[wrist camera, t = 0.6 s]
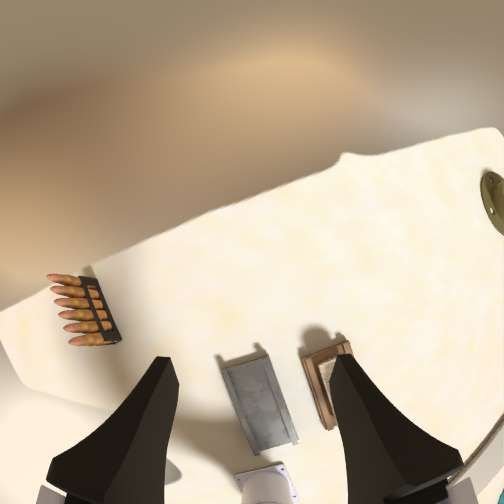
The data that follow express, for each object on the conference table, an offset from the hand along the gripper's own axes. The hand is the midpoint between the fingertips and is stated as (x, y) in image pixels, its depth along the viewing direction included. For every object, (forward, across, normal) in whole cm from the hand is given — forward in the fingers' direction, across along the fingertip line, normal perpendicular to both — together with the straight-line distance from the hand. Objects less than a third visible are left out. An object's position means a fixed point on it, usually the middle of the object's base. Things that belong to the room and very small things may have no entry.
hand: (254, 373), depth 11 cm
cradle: (+13, -1, +25) cm, 29 cm away
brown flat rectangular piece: (+15, -12, +23) cm, 30 cm away
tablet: (-6, -51, +47) cm, 70 cm away
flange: (+33, -55, 0) cm, 64 cm away
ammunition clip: (+22, +23, +16) cm, 36 cm away
